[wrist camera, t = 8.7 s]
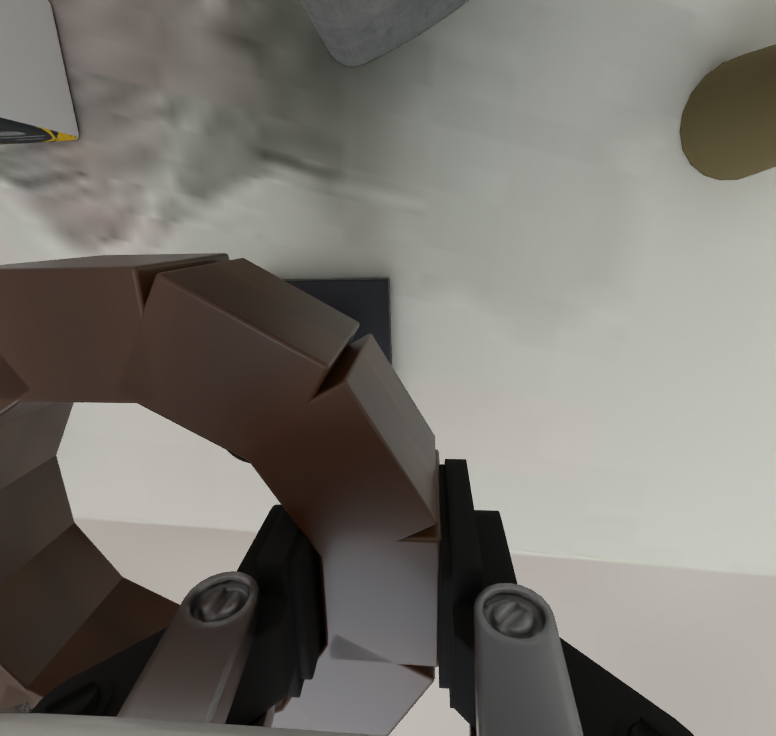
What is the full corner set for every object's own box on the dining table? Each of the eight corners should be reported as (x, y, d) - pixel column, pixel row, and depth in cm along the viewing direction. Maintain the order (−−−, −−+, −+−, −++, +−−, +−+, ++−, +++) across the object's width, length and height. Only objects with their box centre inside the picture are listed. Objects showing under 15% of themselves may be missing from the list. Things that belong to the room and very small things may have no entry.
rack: (389, 277, 28) (355, 324, 15) (392, 396, 31) (364, 529, 17) (265, 279, 29) (126, 326, 16) (277, 396, 31) (166, 522, 18)
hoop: (441, 249, 10) (448, 261, 7) (435, 682, 14) (437, 826, 11) (-84, 258, 11) (-304, 273, 8) (46, 655, 15) (-63, 778, 12)
